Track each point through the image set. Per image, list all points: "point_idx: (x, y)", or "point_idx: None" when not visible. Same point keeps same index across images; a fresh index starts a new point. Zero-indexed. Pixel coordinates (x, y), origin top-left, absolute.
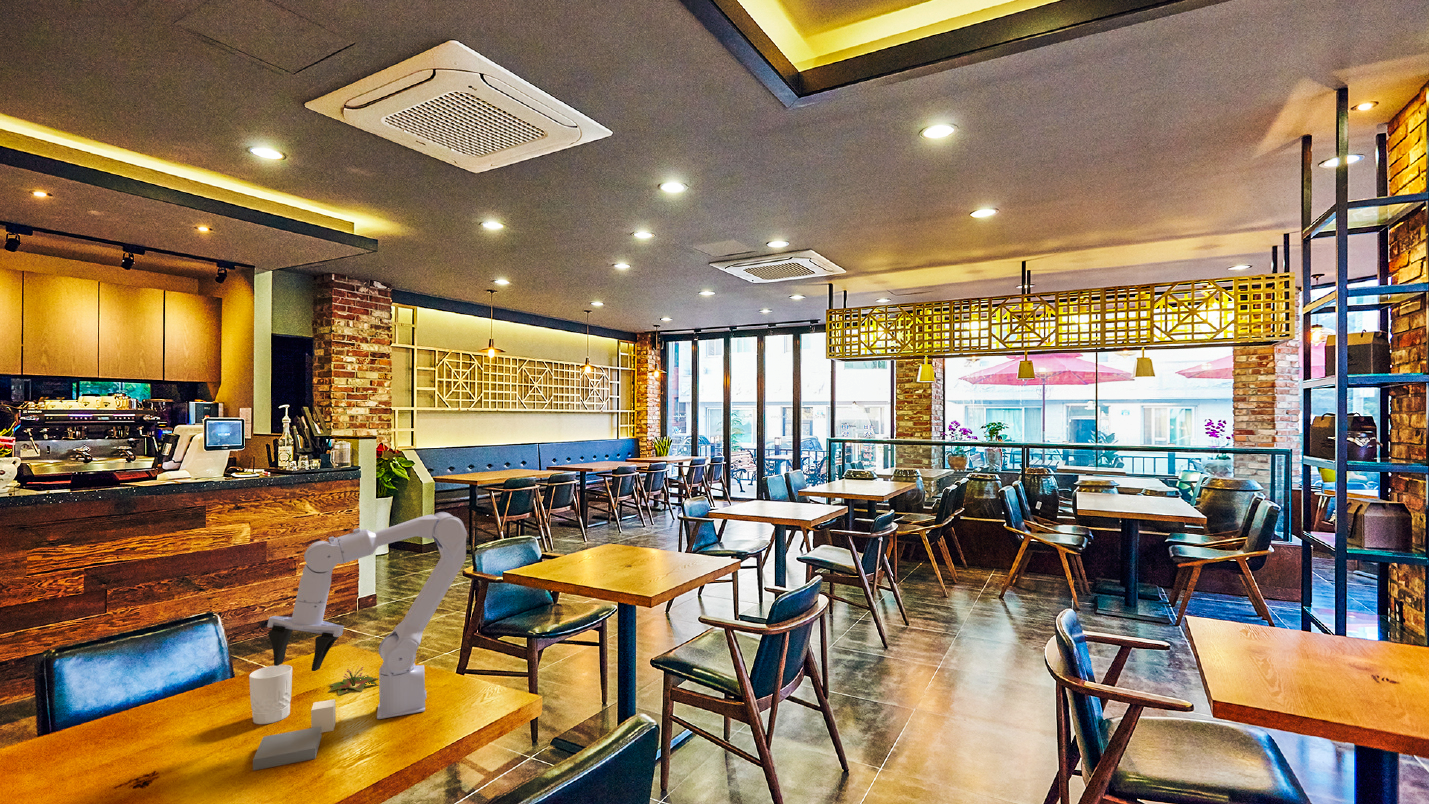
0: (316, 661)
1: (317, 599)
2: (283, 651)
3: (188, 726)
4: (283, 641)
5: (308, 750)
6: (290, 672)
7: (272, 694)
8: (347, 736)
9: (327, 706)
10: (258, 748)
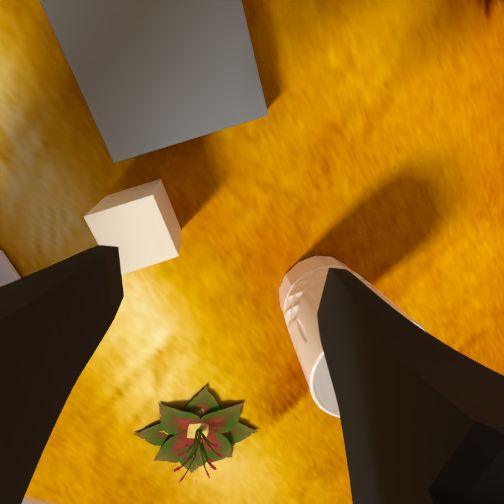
0: (54, 264)
1: None
2: (338, 358)
3: (474, 263)
4: (371, 410)
5: None
6: (307, 373)
7: None
8: (30, 145)
9: (106, 218)
10: (243, 13)
